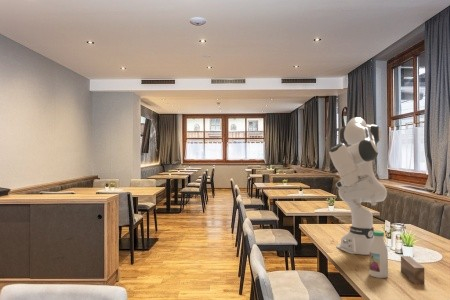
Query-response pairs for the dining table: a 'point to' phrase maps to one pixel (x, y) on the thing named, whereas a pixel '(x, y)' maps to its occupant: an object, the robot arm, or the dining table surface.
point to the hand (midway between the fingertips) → (366, 206)
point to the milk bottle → (378, 256)
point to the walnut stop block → (412, 270)
